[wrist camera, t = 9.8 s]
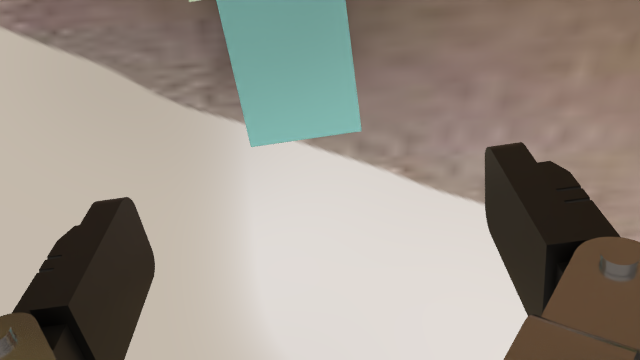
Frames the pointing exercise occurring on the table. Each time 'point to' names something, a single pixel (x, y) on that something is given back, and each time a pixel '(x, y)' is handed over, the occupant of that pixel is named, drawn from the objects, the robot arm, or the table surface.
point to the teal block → (292, 68)
